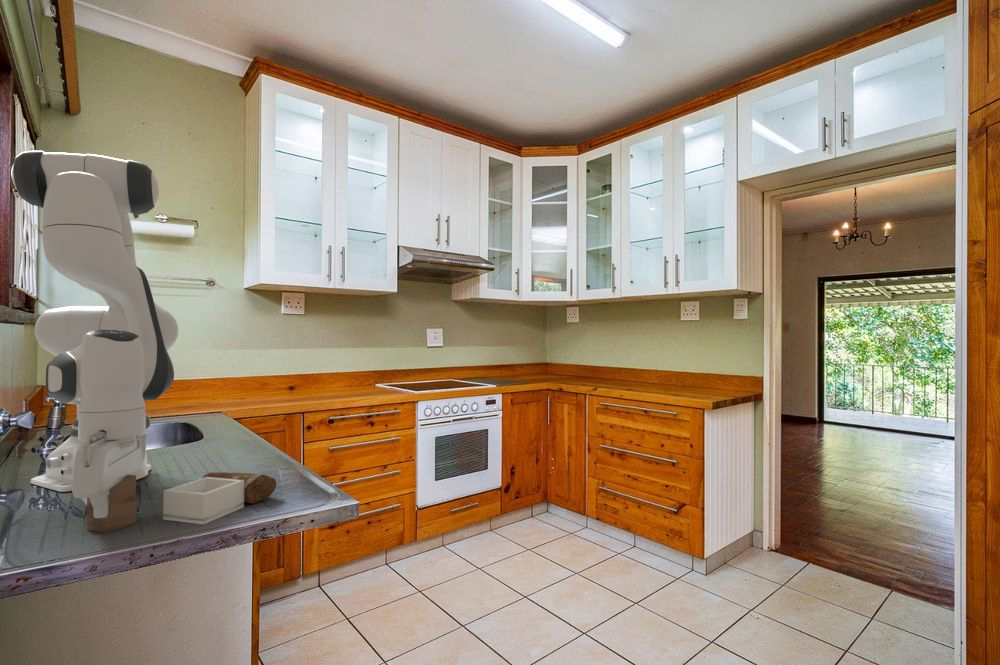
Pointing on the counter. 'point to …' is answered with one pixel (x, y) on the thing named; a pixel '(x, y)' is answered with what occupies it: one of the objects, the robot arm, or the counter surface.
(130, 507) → the walnut block
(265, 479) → the bread
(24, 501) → the counter surface
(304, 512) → the counter surface
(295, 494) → the counter surface
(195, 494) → the bin
